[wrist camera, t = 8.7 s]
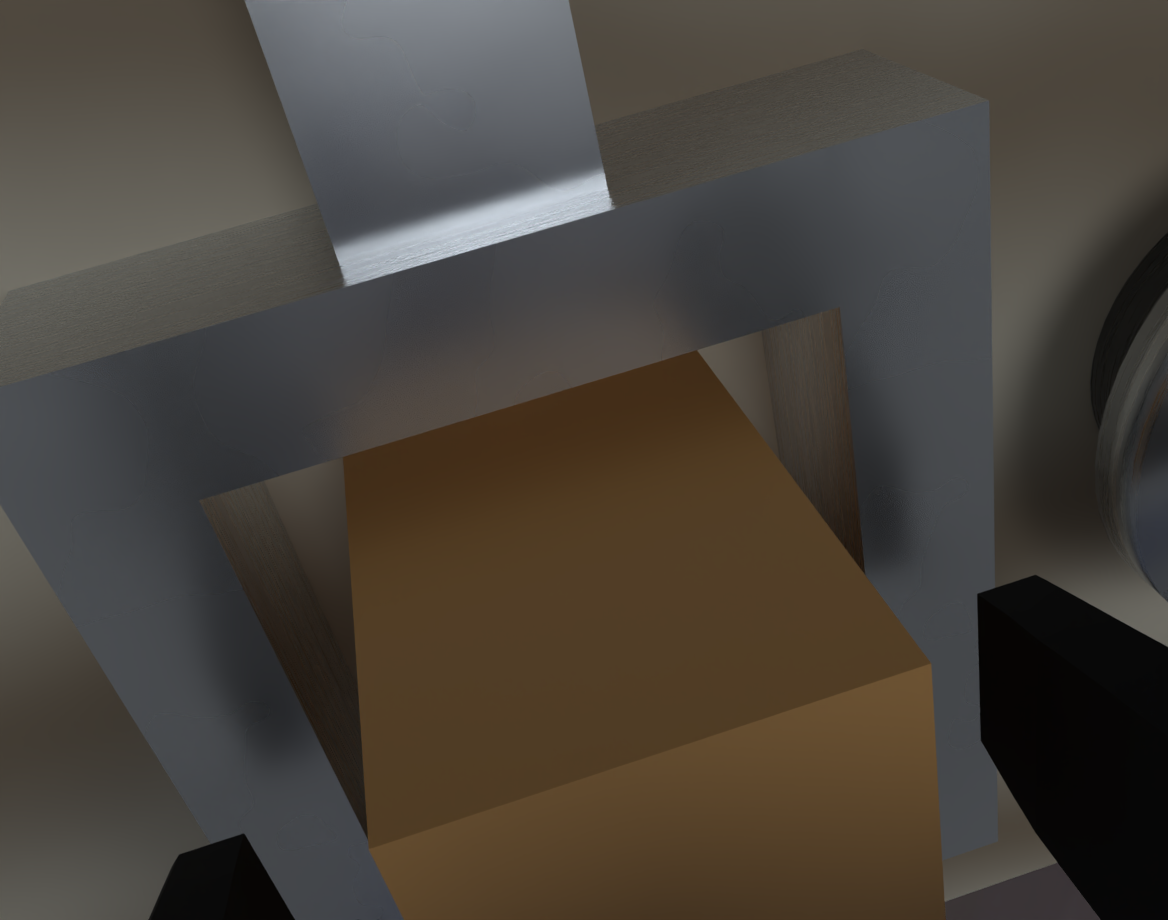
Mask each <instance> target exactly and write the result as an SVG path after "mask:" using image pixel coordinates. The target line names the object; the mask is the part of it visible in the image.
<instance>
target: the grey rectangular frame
mask: <svg viewBox="0 0 1168 920" xmlns="http://www.w3.org/2000/svg"><path fill="white" fill-rule="evenodd" d="M245 3H246V6H247V9H248V11H249V14H250V17H251V20H252V22H253V25H254V28H255V31H256V34H257V36H258V39H259V42H260V45H261V48H262V50H263V53H264V56H265V59H266V61H267V64H268V67H269V70H270V73H271V75H272V78H273V81H274V84H275V86H276V89H277V92H278V95H279V98H280V100H281V103H282V106H283V109H284V111H285V114H286V117H287V120H288V123H289V125H290V128H291V131H292V134H293V136H294V139H295V142H296V145H297V148H298V150H299V153H300V156H301V159H302V161H303V164H304V167H305V170H306V173H307V175H308V178H309V181H310V184H311V187H312V189H313V192H314V195H315V198H316V200H317V204H313V205H310V206H306V207H303V208H299V209H296V210H292V211H289V212H285V213H282V214H278V215H275V216H271V217H268V218H264V219H261V220H257V221H253V222H250V223H246V224H243V225H239V226H236V227H232V228H229V229H225V230H222V231H218V232H215V233H211V234H208V235H204V236H201V237H197V238H193V239H190V240H186V241H183V242H179V243H176V244H172V245H169V246H165V247H162V248H158V249H155V250H151V251H148V252H144V253H141V254H137V255H133V256H130V257H126V258H123V259H119V260H116V261H112V262H109V263H105V264H102V265H98V266H95V267H91V268H88V269H84V270H81V271H77V272H73V273H70V274H66V275H63V276H59V277H56V278H52V279H49V280H45V281H42V282H38V283H35V284H31V285H28V286H24V287H21V288H17V289H13V290H10V291H9V292H8V294H7V295H6V297H5V298H4V300H3V302H2V303H1V305H0V505H1V507H2V508H3V510H4V512H5V513H6V515H7V517H8V518H9V520H10V521H11V523H12V525H13V526H14V528H15V529H16V531H17V533H18V534H19V536H20V537H21V539H22V541H23V542H24V544H25V546H26V547H27V549H28V550H29V552H30V554H31V555H32V557H33V558H34V560H35V562H36V563H37V565H38V566H39V568H40V570H41V571H42V573H43V575H44V576H45V578H46V579H47V581H48V583H49V584H50V586H51V587H52V589H53V591H54V592H55V594H56V595H57V597H58V599H59V600H60V602H61V604H62V605H63V607H64V608H65V610H66V612H67V613H68V615H69V616H70V618H71V620H72V621H73V623H74V625H75V626H76V628H77V629H78V631H79V633H80V634H81V636H82V637H83V639H84V641H85V642H86V644H87V645H88V647H89V649H90V650H91V652H92V654H93V655H94V657H95V658H96V660H97V662H98V663H99V665H100V666H101V668H102V670H103V671H104V673H105V674H106V676H107V678H108V679H109V681H110V683H111V684H112V686H113V687H114V689H115V691H116V692H117V694H118V695H119V697H120V699H121V700H122V702H123V703H124V705H125V707H126V708H127V710H128V712H129V713H130V715H131V716H132V718H133V720H134V721H135V723H136V724H137V726H138V728H139V729H140V731H141V732H142V734H143V736H144V737H145V739H146V741H147V742H148V744H149V745H150V747H151V749H152V750H153V752H154V753H155V755H156V757H157V758H158V760H159V762H160V763H161V765H162V766H163V768H164V770H165V771H166V773H167V774H168V776H169V778H170V779H171V781H172V782H173V784H174V786H175V787H176V789H177V791H178V792H179V794H180V795H181V797H182V799H183V800H184V802H185V803H186V805H187V807H188V808H189V810H190V811H191V813H192V815H193V816H194V818H195V820H196V821H197V823H198V824H199V826H200V828H201V829H202V831H203V832H204V834H205V836H206V837H207V839H208V840H209V842H210V844H213V843H216V842H219V841H222V840H225V839H228V838H231V837H234V836H237V835H240V834H243V833H244V834H245V835H246V837H247V839H248V840H249V842H250V844H251V846H252V847H253V849H254V851H255V852H256V854H257V856H258V857H259V859H260V861H261V863H262V864H263V866H264V868H265V869H266V871H267V873H268V875H269V876H270V878H271V880H272V881H273V883H274V885H275V886H276V888H277V890H278V892H279V893H280V895H281V897H282V898H283V900H284V902H285V903H286V905H287V907H288V909H289V910H290V912H291V914H292V915H293V917H294V919H295V920H404V919H403V917H402V915H401V913H400V911H399V909H398V907H397V905H396V903H395V901H394V899H393V897H392V895H391V893H390V891H389V889H388V887H387V885H386V883H385V881H384V879H383V877H382V875H381V873H380V871H379V869H378V867H377V865H376V863H375V861H374V859H373V857H372V855H371V853H370V851H369V847H368V832H367V816H366V801H365V786H364V771H363V755H362V740H361V725H360V710H359V694H358V687H357V685H356V683H355V681H354V679H353V676H352V674H351V672H350V670H349V668H348V665H347V663H346V661H345V659H344V656H343V654H342V652H341V650H340V648H339V645H338V643H337V641H336V639H335V637H334V634H333V632H332V630H331V628H330V626H329V623H328V621H327V619H326V617H325V614H324V612H323V610H322V608H321V606H320V603H319V601H318V599H317V597H316V595H315V592H314V590H313V588H312V586H311V584H310V581H309V579H308V577H307V575H306V572H305V570H304V568H303V566H302V564H301V561H300V559H299V557H298V555H297V553H296V550H295V548H294V546H293V544H292V541H291V539H290V537H289V535H288V533H287V530H286V528H285V526H284V524H283V522H282V519H281V517H280V515H279V513H278V511H277V508H276V506H275V504H274V502H273V499H272V497H271V495H270V493H269V491H268V488H267V486H266V484H265V482H264V481H265V480H268V479H272V478H275V477H278V476H281V475H285V474H288V473H291V472H295V471H298V470H301V469H305V468H308V467H311V466H315V465H318V464H321V463H325V462H328V461H331V460H334V459H338V458H341V457H344V456H348V455H351V454H354V453H358V452H361V451H364V450H368V449H371V448H374V447H378V446H381V445H384V444H387V443H391V442H394V441H397V440H401V439H404V438H407V437H411V436H414V435H417V434H421V433H424V432H427V431H431V430H434V429H437V428H440V427H444V426H447V425H450V424H454V423H457V422H460V421H464V420H467V419H470V418H474V417H477V416H480V415H484V414H487V413H490V412H493V411H497V410H500V409H503V408H507V407H510V406H513V405H517V404H520V403H523V402H527V401H530V400H533V399H537V398H540V397H543V396H546V395H550V394H553V393H556V392H560V391H563V390H566V389H570V388H573V387H576V386H580V385H583V384H586V383H590V382H593V381H596V380H599V379H603V378H606V377H609V376H613V375H616V374H619V373H623V372H626V371H629V370H633V369H636V368H639V367H643V366H646V365H649V364H652V363H656V362H659V361H662V360H666V359H669V358H672V357H676V356H679V355H682V354H686V353H689V352H692V351H696V350H699V349H702V348H705V347H709V346H712V345H715V344H719V343H722V342H725V341H729V340H732V339H735V338H739V337H742V336H745V335H749V334H752V333H755V332H758V331H762V338H763V346H764V353H765V360H766V367H767V374H768V381H769V389H770V396H771V403H772V410H773V417H774V425H775V432H776V439H777V446H778V453H779V460H780V462H781V463H782V464H783V466H784V467H785V468H786V470H787V471H788V472H789V474H790V475H791V476H792V478H793V479H794V480H795V482H796V483H797V485H798V486H799V487H800V489H801V490H802V491H803V493H804V494H805V495H806V497H807V498H808V499H809V501H810V502H811V503H812V505H813V506H814V507H815V509H816V510H817V511H818V513H819V514H820V515H821V517H822V518H823V519H824V521H825V522H826V523H827V525H828V526H829V527H830V529H831V530H832V531H833V533H834V534H835V535H836V537H837V538H838V539H839V541H840V542H841V543H842V545H843V546H844V547H845V549H846V550H847V551H848V553H849V554H850V555H851V557H852V558H853V559H854V561H855V562H856V563H857V565H858V566H859V567H860V569H861V570H862V571H863V573H864V574H865V575H866V577H867V578H868V579H869V581H870V582H871V583H872V585H873V586H874V587H875V589H876V590H877V591H878V593H879V594H880V595H881V597H882V598H883V600H884V601H885V602H886V604H887V605H888V606H889V608H890V609H891V610H892V612H893V613H894V614H895V616H896V617H897V618H898V620H899V621H900V622H901V624H902V625H903V626H904V628H905V629H906V630H907V632H908V633H909V634H910V636H911V637H912V638H913V640H914V641H915V642H916V644H917V645H918V646H919V648H920V649H921V650H922V652H923V653H924V654H925V656H926V657H927V658H928V660H929V661H930V662H931V667H932V685H933V703H934V721H935V739H936V757H937V775H938V793H939V810H940V828H941V846H942V861H943V860H946V859H948V858H951V857H954V856H957V855H960V854H963V853H966V852H969V851H972V850H974V849H977V848H980V847H983V846H986V845H989V844H992V843H995V842H998V799H997V768H996V766H995V764H994V763H993V761H992V759H991V757H990V756H989V754H988V752H987V750H986V749H985V747H984V745H983V744H982V742H981V732H980V692H979V653H978V614H977V594H978V593H981V592H984V591H987V590H990V589H993V588H995V545H994V460H993V375H992V290H991V205H990V121H989V100H987V99H985V98H982V97H980V96H977V95H975V94H972V93H970V92H967V91H965V90H962V89H960V88H958V87H955V86H953V85H950V84H948V83H945V82H943V81H940V80H938V79H935V78H933V77H930V76H928V75H926V74H923V73H921V72H918V71H916V70H913V69H911V68H908V67H906V66H903V65H901V64H899V63H896V62H894V61H891V60H889V59H886V58H884V57H881V56H879V55H876V54H874V53H871V52H869V51H867V50H864V49H861V50H857V51H853V52H850V53H846V54H843V55H839V56H836V57H832V58H829V59H825V60H822V61H818V62H815V63H811V64H808V65H804V66H801V67H797V68H793V69H790V70H786V71H783V72H779V73H776V74H772V75H769V76H765V77H762V78H758V79H755V80H751V81H748V82H744V83H741V84H737V85H733V86H730V87H726V88H723V89H719V90H716V91H712V92H709V93H705V94H702V95H698V96H695V97H691V98H688V99H684V100H681V101H677V102H673V103H670V104H666V105H663V106H659V107H656V108H652V109H649V110H645V111H642V112H638V113H635V114H631V115H628V116H624V117H621V118H617V119H613V120H610V121H606V122H603V123H599V124H596V125H594V120H593V116H592V111H591V106H590V101H589V96H588V92H587V87H586V82H585V77H584V72H583V68H582V63H581V58H580V53H579V48H578V44H577V39H576V34H575V29H574V24H573V20H572V15H571V10H570V5H569V0H245ZM1090 392H1091V404H1092V410H1093V415H1094V418H1095V421H1096V424H1097V427H1098V429H1099V434H1098V443H1097V451H1096V459H1095V489H1096V497H1097V502H1098V508H1099V513H1100V518H1101V520H1102V523H1103V525H1104V528H1105V530H1106V533H1107V536H1108V538H1109V540H1110V542H1111V543H1112V545H1113V546H1114V548H1115V550H1116V551H1117V553H1118V554H1119V556H1120V557H1121V559H1122V560H1123V561H1124V562H1125V563H1126V564H1127V565H1128V566H1129V567H1130V568H1131V569H1132V570H1133V571H1134V572H1135V573H1136V574H1137V575H1138V576H1139V577H1140V578H1142V579H1143V580H1144V581H1145V582H1146V583H1147V584H1148V585H1149V586H1150V587H1152V588H1153V589H1154V590H1155V591H1156V592H1157V593H1158V594H1159V595H1160V596H1161V597H1163V598H1164V599H1165V600H1166V601H1167V602H1168V233H1167V234H1165V235H1164V236H1163V237H1162V238H1161V239H1160V240H1159V241H1158V242H1157V243H1156V245H1155V246H1154V247H1153V248H1152V249H1151V250H1150V251H1149V252H1148V254H1147V255H1146V256H1145V257H1144V258H1143V259H1142V261H1141V262H1140V263H1139V265H1138V266H1137V267H1136V269H1135V270H1134V271H1133V273H1132V274H1131V275H1130V277H1129V278H1128V279H1127V281H1126V283H1125V284H1124V286H1123V288H1122V289H1121V291H1120V292H1119V294H1118V296H1117V297H1116V299H1115V301H1114V303H1113V305H1112V307H1111V309H1110V311H1109V313H1108V315H1107V317H1106V319H1105V322H1104V325H1103V327H1102V330H1101V333H1100V336H1099V338H1098V341H1097V345H1096V349H1095V353H1094V357H1093V362H1092V370H1091V379H1090Z"/></svg>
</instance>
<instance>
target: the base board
mask: <svg viewBox="0 0 1168 920" xmlns="http://www.w3.org/2000/svg"><path fill="white" fill-rule="evenodd" d="M569 5H570V10H571V15H572V20H573V24H574V29H575V34H576V39H577V44H578V48H579V53H580V58H581V63H582V68H583V72H584V77H585V82H586V87H587V92H588V96H589V101H590V106H591V111H592V116H593V120H594V125H596V124H599V123H603V122H606V121H610V120H613V119H617V118H621V117H624V116H628V115H631V114H635V113H638V112H642V111H645V110H649V109H652V108H656V107H659V106H663V105H666V104H670V103H673V102H677V101H681V100H684V99H688V98H691V97H695V96H698V95H702V94H705V93H709V92H712V91H716V90H719V89H723V88H726V87H730V86H733V85H737V84H741V83H744V82H748V81H751V80H755V79H758V78H762V77H765V76H769V75H772V74H776V73H779V72H783V71H786V70H790V69H793V68H797V67H801V66H804V65H808V64H811V63H815V62H818V61H822V60H825V59H829V58H832V57H836V56H839V55H843V54H846V53H850V52H853V51H857V50H861V49H864V50H867V51H869V52H871V53H874V54H876V55H879V56H881V57H884V58H886V59H889V60H891V61H894V62H896V63H899V64H901V65H903V66H906V67H908V68H911V69H913V70H916V71H918V72H921V73H923V74H926V75H928V76H930V77H933V78H935V79H938V80H940V81H943V82H945V83H948V84H950V85H953V86H955V87H958V88H960V89H962V90H965V91H967V92H970V93H972V94H975V95H977V96H980V97H982V98H985V99H987V100H989V121H990V205H991V290H992V375H993V460H994V545H995V588H996V587H999V586H1002V585H1005V584H1008V583H1011V582H1015V581H1018V580H1021V579H1024V578H1027V577H1030V576H1033V575H1037V576H1039V577H1041V578H1043V579H1045V580H1047V581H1049V582H1051V583H1052V584H1054V585H1056V586H1058V587H1060V588H1062V589H1064V590H1065V591H1067V592H1069V593H1071V594H1073V595H1075V596H1076V597H1078V598H1080V599H1082V600H1084V601H1085V602H1087V603H1089V604H1091V605H1093V606H1094V607H1096V608H1098V609H1100V610H1102V611H1103V612H1105V613H1107V614H1109V615H1111V616H1112V617H1114V618H1116V619H1118V620H1120V621H1121V622H1123V623H1125V624H1127V625H1129V626H1131V627H1132V628H1134V629H1136V630H1138V631H1140V632H1142V633H1143V634H1145V635H1147V636H1149V637H1151V638H1153V639H1154V640H1156V641H1158V642H1160V643H1162V644H1164V645H1165V646H1167V647H1168V602H1167V601H1166V600H1165V599H1164V598H1163V597H1161V596H1160V595H1159V594H1158V593H1157V592H1156V591H1155V590H1154V589H1153V588H1152V587H1150V586H1149V585H1148V584H1147V583H1146V582H1145V581H1144V580H1143V579H1142V578H1140V577H1139V576H1138V575H1137V574H1136V573H1135V572H1134V571H1133V570H1132V569H1131V568H1130V567H1129V566H1128V565H1127V564H1126V563H1125V562H1124V561H1123V560H1122V559H1121V557H1120V556H1119V554H1118V553H1117V551H1116V550H1115V548H1114V546H1113V545H1112V543H1111V542H1110V540H1109V538H1108V536H1107V533H1106V530H1105V528H1104V525H1103V523H1102V520H1101V518H1100V513H1099V508H1098V502H1097V497H1096V489H1095V459H1096V451H1097V443H1098V434H1099V429H1098V427H1097V424H1096V421H1095V418H1094V415H1093V410H1092V404H1091V392H1090V379H1091V370H1092V362H1093V357H1094V353H1095V349H1096V345H1097V341H1098V338H1099V336H1100V333H1101V330H1102V327H1103V325H1104V322H1105V319H1106V317H1107V315H1108V313H1109V311H1110V309H1111V307H1112V305H1113V303H1114V301H1115V299H1116V297H1117V296H1118V294H1119V292H1120V291H1121V289H1122V288H1123V286H1124V284H1125V283H1126V281H1127V279H1128V278H1129V277H1130V275H1131V274H1132V273H1133V271H1134V270H1135V269H1136V267H1137V266H1138V265H1139V263H1140V262H1141V261H1142V259H1143V258H1144V257H1145V256H1146V255H1147V254H1148V252H1149V251H1150V250H1151V249H1152V248H1153V247H1154V246H1155V245H1156V243H1157V242H1158V241H1159V240H1160V239H1161V238H1162V237H1163V236H1164V235H1165V234H1167V233H1168V0H569ZM313 204H317V200H316V198H315V195H314V192H313V189H312V187H311V184H310V181H309V178H308V175H307V173H306V170H305V167H304V164H303V161H302V159H301V156H300V153H299V150H298V148H297V145H296V142H295V139H294V136H293V134H292V131H291V128H290V125H289V123H288V120H287V117H286V114H285V111H284V109H283V106H282V103H281V100H280V98H279V95H278V92H277V89H276V86H275V84H274V81H273V78H272V75H271V73H270V70H269V67H268V64H267V61H266V59H265V56H264V53H263V50H262V48H261V45H260V42H259V39H258V36H257V34H256V31H255V28H254V25H253V22H252V20H251V17H250V14H249V11H248V9H247V6H246V3H245V0H0V305H1V303H2V302H3V300H4V298H5V297H6V295H7V294H8V292H9V291H10V290H13V289H17V288H21V287H24V286H28V285H31V284H35V283H38V282H42V281H45V280H49V279H52V278H56V277H59V276H63V275H66V274H70V273H73V272H77V271H81V270H84V269H88V268H91V267H95V266H98V265H102V264H105V263H109V262H112V261H116V260H119V259H123V258H126V257H130V256H133V255H137V254H141V253H144V252H148V251H151V250H155V249H158V248H162V247H165V246H169V245H172V244H176V243H179V242H183V241H186V240H190V239H193V238H197V237H201V236H204V235H208V234H211V233H215V232H218V231H222V230H225V229H229V228H232V227H236V226H239V225H243V224H246V223H250V222H253V221H257V220H261V219H264V218H268V217H271V216H275V215H278V214H282V213H285V212H289V211H292V210H296V209H299V208H303V207H306V206H310V205H313ZM697 351H698V352H699V353H700V355H701V356H702V357H703V359H704V360H705V361H706V363H707V364H708V365H709V367H710V368H711V369H712V371H713V372H714V374H715V375H716V376H717V378H718V379H719V380H720V382H721V383H722V384H723V386H724V387H725V388H726V390H727V391H728V392H729V394H730V395H731V396H732V398H733V399H734V400H735V402H736V403H737V404H738V406H739V407H740V408H741V410H742V411H743V412H744V414H745V415H746V416H747V418H748V419H749V420H750V422H751V423H752V424H753V426H754V427H755V428H756V430H757V431H758V432H759V434H760V435H761V436H762V438H763V439H764V440H765V442H766V443H767V444H768V446H769V447H770V448H771V450H772V451H773V452H774V454H775V455H776V456H777V458H778V459H779V453H778V446H777V439H776V432H775V425H774V417H773V410H772V403H771V396H770V389H769V381H768V374H767V367H766V360H765V353H764V346H763V338H762V331H758V332H755V333H752V334H749V335H745V336H742V337H739V338H735V339H732V340H729V341H725V342H722V343H719V344H715V345H712V346H709V347H705V348H702V349H699V350H697ZM264 482H265V484H266V486H267V488H268V491H269V493H270V495H271V497H272V499H273V502H274V504H275V506H276V508H277V511H278V513H279V515H280V517H281V519H282V522H283V524H284V526H285V528H286V530H287V533H288V535H289V537H290V539H291V541H292V544H293V546H294V548H295V550H296V553H297V555H298V557H299V559H300V561H301V564H302V566H303V568H304V570H305V572H306V575H307V577H308V579H309V581H310V584H311V586H312V588H313V590H314V592H315V595H316V597H317V599H318V601H319V603H320V606H321V608H322V610H323V612H324V614H325V617H326V619H327V621H328V623H329V626H330V628H331V630H332V632H333V634H334V637H335V639H336V641H337V643H338V645H339V648H340V650H341V652H342V654H343V656H344V659H345V661H346V663H347V665H348V668H349V670H350V672H351V674H352V676H353V679H354V681H355V683H356V685H357V687H358V679H357V664H356V649H355V633H354V618H353V603H352V588H351V572H350V557H349V542H348V527H347V511H346V496H345V481H344V466H343V457H341V458H338V459H334V460H331V461H328V462H325V463H321V464H318V465H315V466H311V467H308V468H305V469H301V470H298V471H295V472H291V473H288V474H285V475H281V476H278V477H275V478H272V479H268V480H265V481H264ZM997 799H998V842H995V843H992V844H989V845H986V846H983V847H980V848H977V849H974V850H972V851H969V852H966V853H963V854H960V855H957V856H954V857H951V858H948V859H946V860H943V861H942V864H943V882H944V900H945V901H948V900H951V899H954V898H957V897H960V896H963V895H965V894H968V893H971V892H974V891H977V890H980V889H983V888H986V887H988V886H991V885H994V884H997V883H1000V882H1003V881H1006V880H1008V879H1011V878H1014V877H1017V876H1020V875H1023V874H1026V873H1029V872H1031V871H1034V870H1037V869H1040V868H1043V867H1046V866H1049V865H1052V864H1054V863H1057V861H1056V860H1055V858H1054V857H1053V856H1052V854H1051V853H1050V852H1049V850H1048V849H1047V848H1046V846H1045V845H1044V844H1043V842H1042V841H1041V840H1040V838H1039V837H1038V836H1037V834H1036V833H1035V831H1034V830H1033V828H1032V826H1031V825H1030V823H1029V821H1028V820H1027V818H1026V817H1025V815H1024V813H1023V812H1022V810H1021V808H1020V807H1019V805H1018V803H1017V802H1016V800H1015V799H1014V797H1013V795H1012V794H1011V792H1010V790H1009V789H1008V787H1007V785H1006V783H1005V782H1004V780H1003V778H1002V776H1001V775H1000V773H999V771H998V770H997ZM209 844H210V842H209V840H208V839H207V837H206V836H205V834H204V832H203V831H202V829H201V828H200V826H199V824H198V823H197V821H196V820H195V818H194V816H193V815H192V813H191V811H190V810H189V808H188V807H187V805H186V803H185V802H184V800H183V799H182V797H181V795H180V794H179V792H178V791H177V789H176V787H175V786H174V784H173V782H172V781H171V779H170V778H169V776H168V774H167V773H166V771H165V770H164V768H163V766H162V765H161V763H160V762H159V760H158V758H157V757H156V755H155V753H154V752H153V750H152V749H151V747H150V745H149V744H148V742H147V741H146V739H145V737H144V736H143V734H142V732H141V731H140V729H139V728H138V726H137V724H136V723H135V721H134V720H133V718H132V716H131V715H130V713H129V712H128V710H127V708H126V707H125V705H124V703H123V702H122V700H121V699H120V697H119V695H118V694H117V692H116V691H115V689H114V687H113V686H112V684H111V683H110V681H109V679H108V678H107V676H106V674H105V673H104V671H103V670H102V668H101V666H100V665H99V663H98V662H97V660H96V658H95V657H94V655H93V654H92V652H91V650H90V649H89V647H88V645H87V644H86V642H85V641H84V639H83V637H82V636H81V634H80V633H79V631H78V629H77V628H76V626H75V625H74V623H73V621H72V620H71V618H70V616H69V615H68V613H67V612H66V610H65V608H64V607H63V605H62V604H61V602H60V600H59V599H58V597H57V595H56V594H55V592H54V591H53V589H52V587H51V586H50V584H49V583H48V581H47V579H46V578H45V576H44V575H43V573H42V571H41V570H40V568H39V566H38V565H37V563H36V562H35V560H34V558H33V557H32V555H31V554H30V552H29V550H28V549H27V547H26V546H25V544H24V542H23V541H22V539H21V537H20V536H19V534H18V533H17V531H16V529H15V528H14V526H13V525H12V523H11V521H10V520H9V518H8V517H7V515H6V513H5V512H4V510H3V508H2V507H1V505H0V920H148V919H149V917H150V915H151V913H152V910H153V908H154V906H155V903H156V901H157V899H158V897H159V894H160V892H161V890H162V887H163V885H164V883H165V881H166V878H167V876H168V874H169V872H170V869H171V867H172V865H173V864H174V862H175V860H176V859H177V857H178V855H179V854H182V853H185V852H188V851H191V850H194V849H197V848H200V847H203V846H206V845H209Z"/></svg>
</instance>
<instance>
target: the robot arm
mask: <svg viewBox="0 0 1168 920" xmlns="http://www.w3.org/2000/svg"><path fill="white" fill-rule="evenodd" d="M977 614H978V653H979V692H980V732H981V742H982V744H983V745H984V747H985V749H986V750H987V752H988V754H989V756H990V757H991V759H992V761H993V763H994V764H995V766H996V768H997V770H998V771H999V773H1000V775H1001V776H1002V778H1003V780H1004V782H1005V783H1006V785H1007V787H1008V789H1009V790H1010V792H1011V794H1012V795H1013V797H1014V799H1015V800H1016V802H1017V803H1018V805H1019V807H1020V808H1021V810H1022V812H1023V813H1024V815H1025V817H1026V818H1027V820H1028V821H1029V823H1030V825H1031V826H1032V828H1033V830H1034V831H1035V833H1036V834H1037V836H1038V837H1039V838H1040V840H1041V841H1042V842H1043V844H1044V845H1045V846H1046V848H1047V849H1048V850H1049V852H1050V853H1051V854H1052V856H1053V857H1054V858H1055V860H1056V861H1057V862H1058V864H1059V865H1060V866H1061V868H1062V869H1063V870H1064V872H1065V873H1066V874H1067V876H1068V877H1069V878H1070V880H1071V881H1072V882H1073V884H1074V885H1075V886H1076V887H1077V889H1078V890H1079V891H1080V893H1081V894H1082V895H1083V897H1084V898H1085V899H1086V901H1087V902H1088V903H1089V905H1090V906H1091V907H1092V909H1093V910H1094V911H1095V912H1096V914H1097V915H1098V916H1099V918H1100V919H1101V920H1168V647H1167V646H1165V645H1164V644H1162V643H1160V642H1158V641H1156V640H1154V639H1153V638H1151V637H1149V636H1147V635H1145V634H1143V633H1142V632H1140V631H1138V630H1136V629H1134V628H1132V627H1131V626H1129V625H1127V624H1125V623H1123V622H1121V621H1120V620H1118V619H1116V618H1114V617H1112V616H1111V615H1109V614H1107V613H1105V612H1103V611H1102V610H1100V609H1098V608H1096V607H1094V606H1093V605H1091V604H1089V603H1087V602H1085V601H1084V600H1082V599H1080V598H1078V597H1076V596H1075V595H1073V594H1071V593H1069V592H1067V591H1065V590H1064V589H1062V588H1060V587H1058V586H1056V585H1054V584H1052V583H1051V582H1049V581H1047V580H1045V579H1043V578H1041V577H1039V576H1037V575H1033V576H1030V577H1027V578H1024V579H1021V580H1018V581H1015V582H1011V583H1008V584H1005V585H1002V586H999V587H996V588H993V589H990V590H987V591H984V592H981V593H978V594H977ZM148 920H295V919H294V917H293V915H292V914H291V912H290V910H289V909H288V907H287V905H286V903H285V902H284V900H283V898H282V897H281V895H280V893H279V892H278V890H277V888H276V886H275V885H274V883H273V881H272V880H271V878H270V876H269V875H268V873H267V871H266V869H265V868H264V866H263V864H262V863H261V861H260V859H259V857H258V856H257V854H256V852H255V851H254V849H253V847H252V846H251V844H250V842H249V840H248V839H247V837H246V835H245V834H244V833H243V834H240V835H237V836H234V837H231V838H228V839H225V840H222V841H219V842H216V843H213V844H209V845H206V846H203V847H200V848H197V849H194V850H191V851H188V852H185V853H182V854H179V855H178V857H177V859H176V860H175V862H174V864H173V865H172V867H171V869H170V872H169V874H168V876H167V878H166V881H165V883H164V885H163V887H162V890H161V892H160V894H159V897H158V899H157V901H156V903H155V906H154V908H153V910H152V913H151V915H150V917H149V919H148Z"/></svg>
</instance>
